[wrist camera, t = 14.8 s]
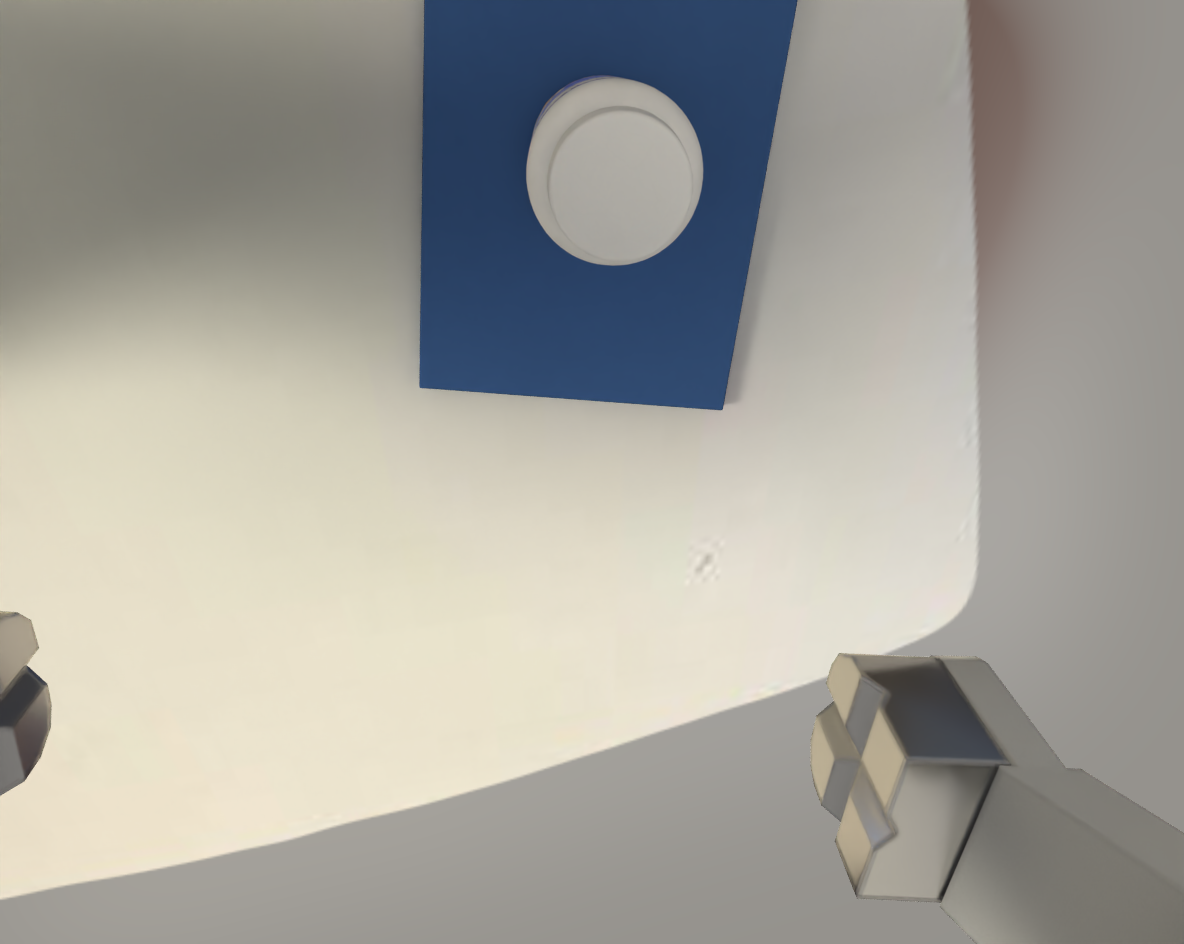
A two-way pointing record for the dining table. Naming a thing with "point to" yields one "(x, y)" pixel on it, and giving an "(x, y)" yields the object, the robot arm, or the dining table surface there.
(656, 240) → the pill bottle
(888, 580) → the dining table surface
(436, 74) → the blue pad
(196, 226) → the dining table surface
